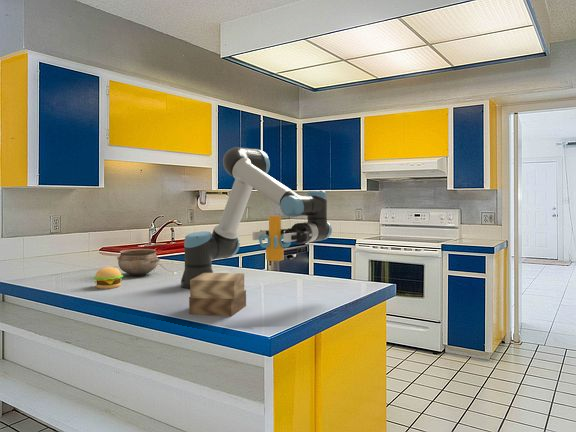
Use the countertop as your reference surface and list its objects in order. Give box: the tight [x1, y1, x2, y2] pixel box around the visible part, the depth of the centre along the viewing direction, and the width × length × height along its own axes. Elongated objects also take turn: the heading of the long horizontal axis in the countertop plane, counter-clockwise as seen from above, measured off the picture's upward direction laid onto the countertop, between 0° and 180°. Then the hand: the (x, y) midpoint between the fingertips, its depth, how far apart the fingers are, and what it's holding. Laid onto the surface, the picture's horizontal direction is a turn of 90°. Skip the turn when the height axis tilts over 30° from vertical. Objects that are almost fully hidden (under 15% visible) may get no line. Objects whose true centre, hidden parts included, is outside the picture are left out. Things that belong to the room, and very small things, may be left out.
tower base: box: [188, 289, 247, 317], centre depth 159 cm, size 15×15×6 cm
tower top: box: [189, 272, 245, 299], centre depth 159 cm, size 15×15×6 cm
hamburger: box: [93, 266, 124, 290], centre depth 200 cm, size 12×12×9 cm
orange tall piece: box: [258, 214, 292, 262], centre depth 155 cm, size 12×10×15 cm
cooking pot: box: [116, 248, 161, 277], centre depth 229 cm, size 25×19×12 cm
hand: (268, 237), depth 152 cm, fingers closed on orange tall piece, 12 cm apart
